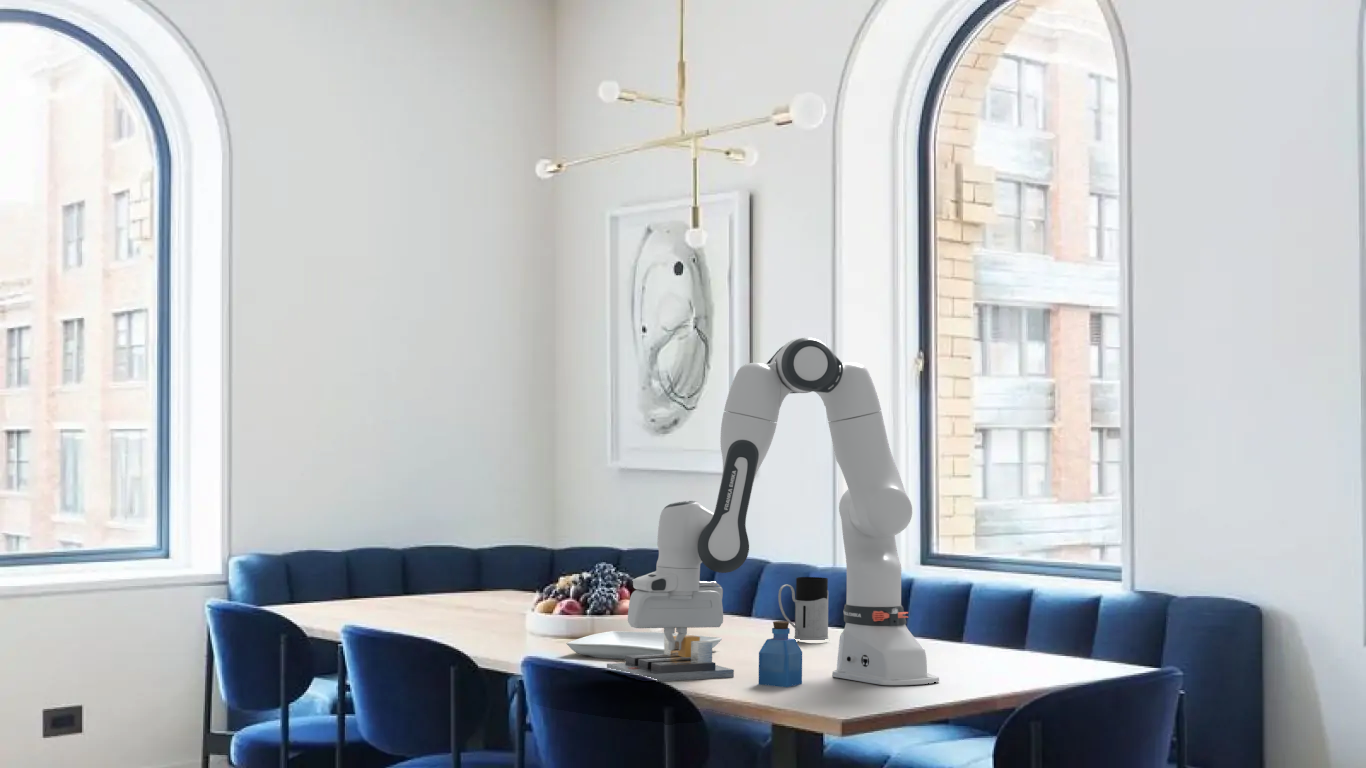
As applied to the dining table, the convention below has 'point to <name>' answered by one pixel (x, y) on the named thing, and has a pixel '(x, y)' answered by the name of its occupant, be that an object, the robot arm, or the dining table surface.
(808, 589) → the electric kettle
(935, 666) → the dining table surface
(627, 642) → the square plate
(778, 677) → the blue glass bottle
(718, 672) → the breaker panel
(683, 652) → the handle
